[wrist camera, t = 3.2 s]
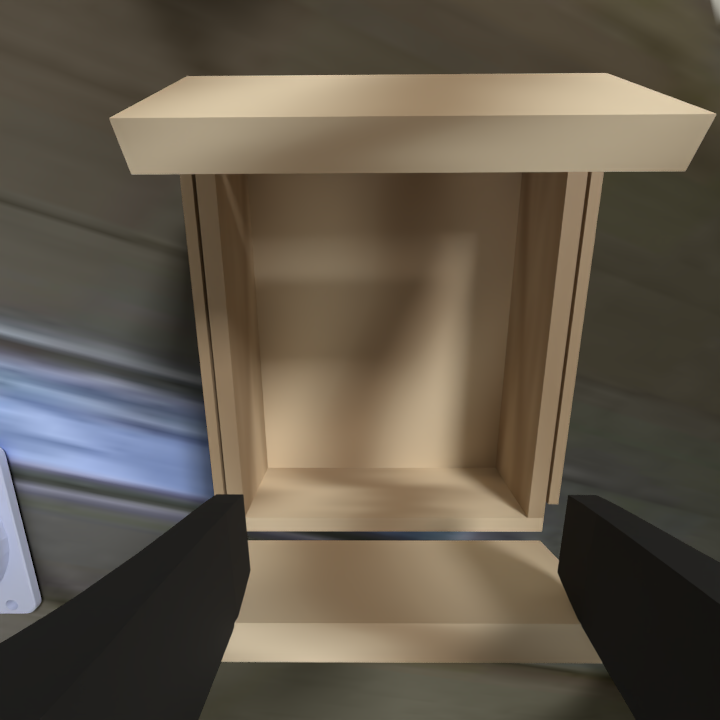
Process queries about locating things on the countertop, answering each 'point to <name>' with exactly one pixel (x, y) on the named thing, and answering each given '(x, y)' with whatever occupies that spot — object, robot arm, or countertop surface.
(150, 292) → the countertop surface
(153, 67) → the countertop surface
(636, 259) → the countertop surface
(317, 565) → the flap
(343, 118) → the flap
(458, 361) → the carton
